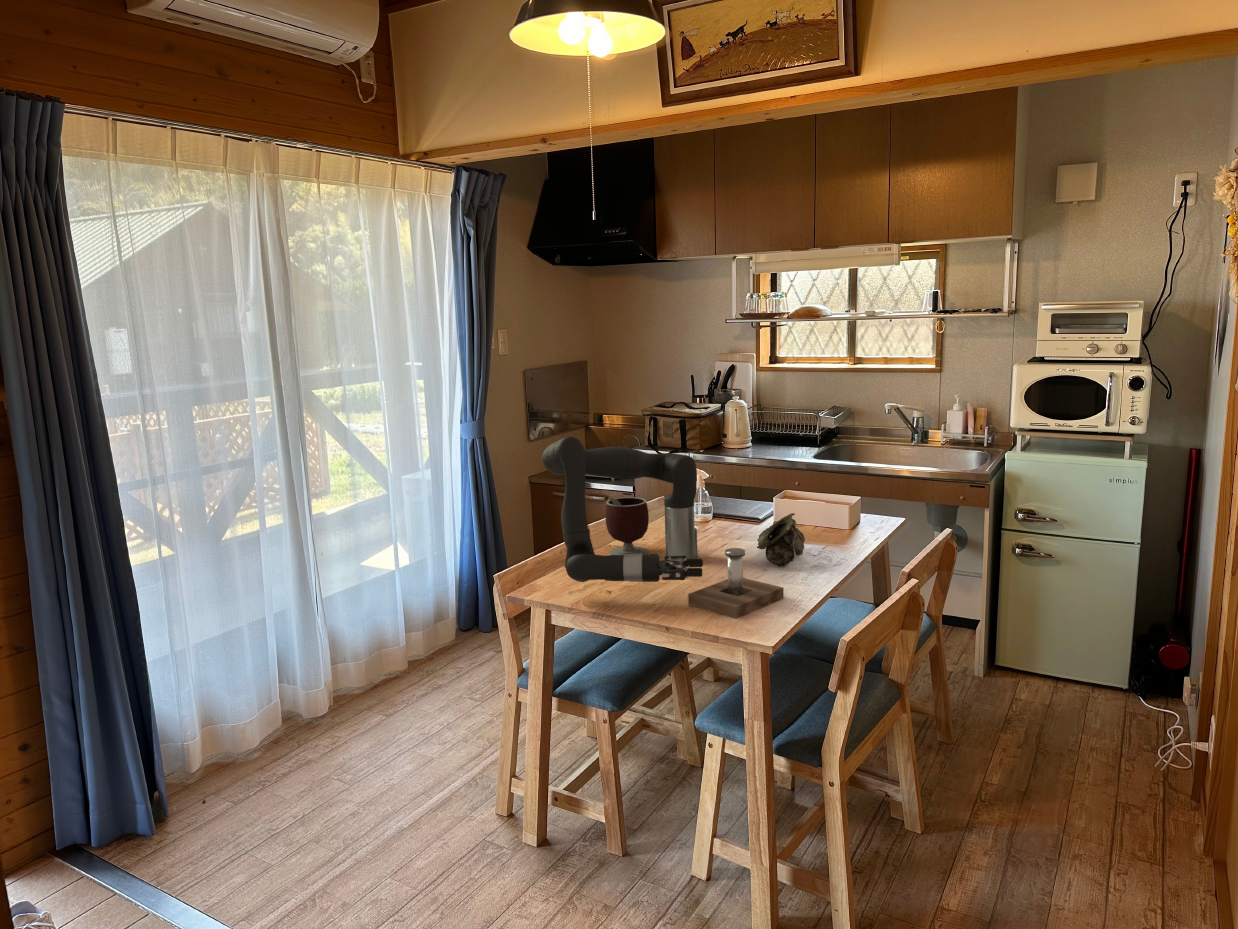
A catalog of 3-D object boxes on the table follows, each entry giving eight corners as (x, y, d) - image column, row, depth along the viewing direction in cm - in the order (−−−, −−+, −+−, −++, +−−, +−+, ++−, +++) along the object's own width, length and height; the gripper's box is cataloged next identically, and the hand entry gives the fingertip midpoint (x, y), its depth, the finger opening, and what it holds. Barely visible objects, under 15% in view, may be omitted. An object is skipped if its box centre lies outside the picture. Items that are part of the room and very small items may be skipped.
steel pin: (734, 597, 231) (733, 546, 229) (749, 601, 227) (749, 550, 225) (721, 602, 228) (720, 551, 225) (737, 606, 224) (736, 554, 221)
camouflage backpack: (778, 587, 253) (814, 554, 247) (746, 557, 254) (781, 523, 248) (790, 558, 279) (823, 527, 273) (761, 530, 280) (793, 499, 274)
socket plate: (736, 586, 240) (736, 576, 239) (783, 598, 229) (783, 587, 228) (688, 604, 226) (688, 594, 226) (736, 618, 215) (736, 607, 215)
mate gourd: (625, 545, 287) (622, 486, 284) (658, 551, 279) (656, 490, 275) (594, 556, 276) (592, 495, 272) (628, 562, 267) (626, 500, 263)
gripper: (638, 561, 221) (702, 561, 219) (643, 546, 235) (702, 546, 233) (639, 589, 222) (702, 589, 221) (644, 573, 236) (703, 573, 234)
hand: (702, 567), depth 227 cm, fingers open, 8 cm apart
